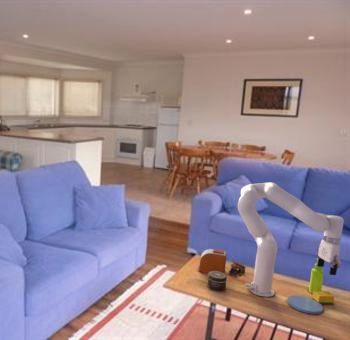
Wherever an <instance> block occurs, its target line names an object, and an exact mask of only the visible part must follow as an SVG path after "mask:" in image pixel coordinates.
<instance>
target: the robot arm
mask: <svg viewBox="0 0 350 340" xmlns="http://www.w3.org/2000/svg"><path fill="white" fill-rule="evenodd" d="M264 198H266V199H267V200H269V201H270V202H271V203H272V204H275V205H277V206H278V207H279V208H281V209H283V210H284V211H286V212H287V213H289V214H290V215H292V216H293V217H295V218H297V219H298V220H299V221H301V222H302V223H304V224H305V225H307V226H308V227H310V228H312V229H313V230H314V231H316V232H319V233H320V232H321V233H322V232H323V237H322V239H321V241H320V244H319V247H318V248H317V249H316V250H317V258H318V260H317V261H318V264H317V266H318V267H322V268H324V267H325V262H327V264H330V266H331V267H330V268H329V274H328V275H330V276H337V271H338V269H339V268H340V267H341V265H342V261H341V259H340V254H341V252H340V251H341V240H342V235H343V228H344V222H345V220H344V218H343V217H341V216H340V215H334V214H325V213H321V212H316V211H314V210H313V209H311V208H310V207H309V206H308V205H306V204H305V203H304V202H303V201H302V200H301V199H299V198H298V197H297V196H294V195H292V194H291V193H289V192H288V191H287V190H284V189H283V188H282V187H280V186H279V185H278V184H277V183H275V182H261V183H251V184H246V185H244V186H243V187H242V188H241V189H240V197H239V198H238V201H237V210H238V213H239V215H240V217H241V219H242V221H243V223H244V224H245V226H246V227H247V231H248V232H249V234H250V235H251V236H252V238H253V240H254V241H255V243H256V246H257V251H256V256H255V263H254V273H253V278H252V279H253V280H252V281H251V282H249V283H244V284H243V287H244V288H248V290H249V291H250V292H251V293H252V294H254V295H256V296H259V297H263V298H269V297H270V298H271V297H274V295H275V291H274V290H273V289H272V288H273V280H274V272H275V267H276V265H275V264H276V260H277V259H276V258H277V255H278V250H279V248H278V243H277V241H276V239H275V237H274V235H273V234H272V231H271V230H270V228H269V227H268V225H267V224H266V222H265V220H264V219H263V217H261V216H260V215H259V213H258V211H257V209H256V207H255V206H256V203H257V202H258V200H259V199H264Z"/></svg>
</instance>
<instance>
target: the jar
mask: <svg viewBox="0 0 350 340" xmlns="http://www.w3.org/2000/svg"><path fill="white" fill-rule="evenodd" d="M227 281H228V276H227V274H226V273H225V274H224V273H222V272H219V271H211V272H209V273H207V286H208V288H209V289H211V290H213V291H216V292H222V291H224V290H225V289H226V288H227Z"/></svg>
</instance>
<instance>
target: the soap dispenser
mask: <svg viewBox="0 0 350 340" xmlns="http://www.w3.org/2000/svg"><path fill="white" fill-rule="evenodd" d="M315 259H316V263H315V264H314V267H312V268H311V271H310V272H311V273H310V280H309V284H308V292H309V293H310V294H312V295H313V292H322V288H323V283H324V282H323V281H324V276H325V271H324V269H323V267H318V266H317V264H318V257H316V258H315Z"/></svg>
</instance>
